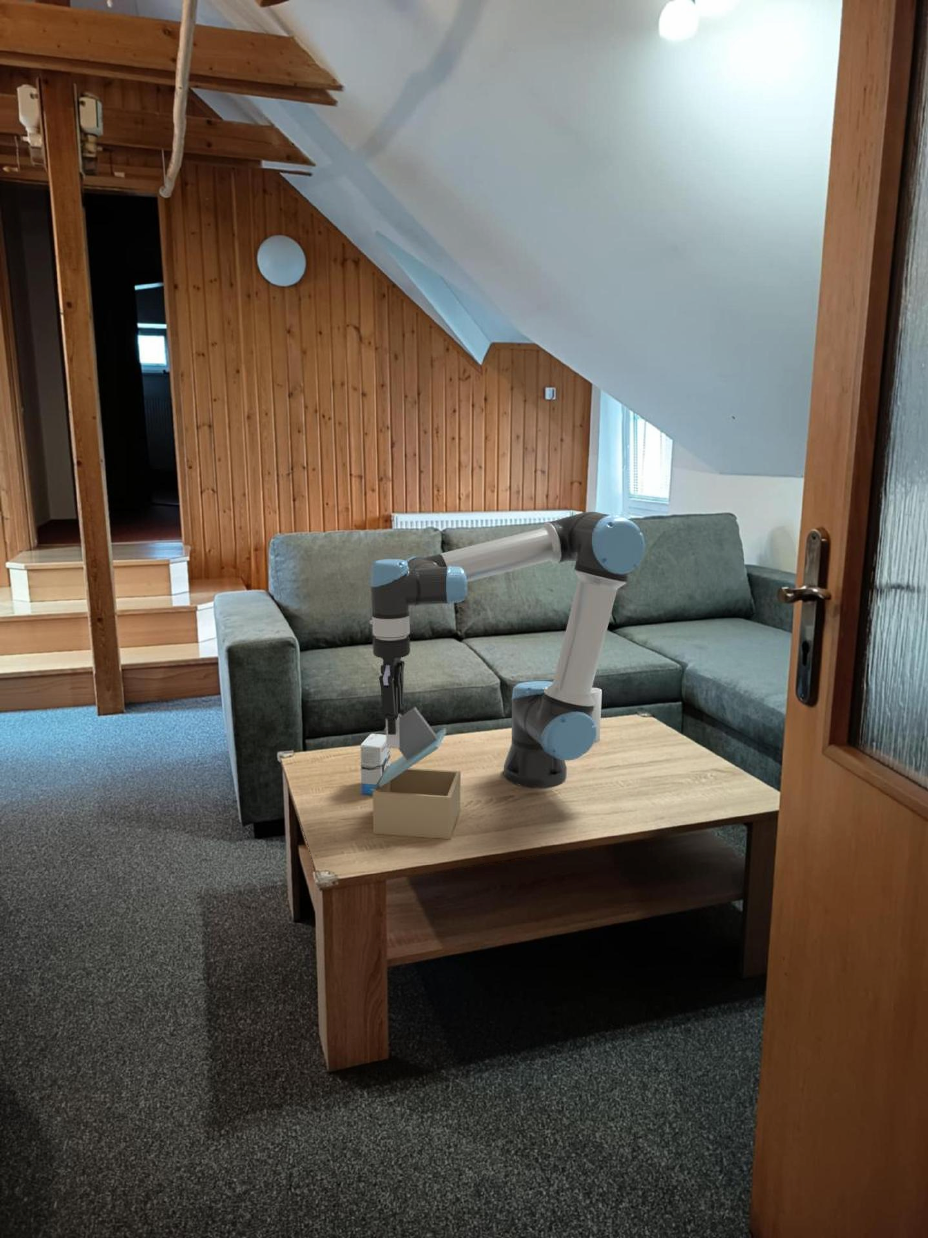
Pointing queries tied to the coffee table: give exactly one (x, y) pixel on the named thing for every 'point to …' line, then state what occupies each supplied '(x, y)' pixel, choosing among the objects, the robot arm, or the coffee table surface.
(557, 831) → the coffee table surface
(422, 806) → the carton
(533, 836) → the coffee table surface
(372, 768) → the ink box
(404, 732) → the lid flap
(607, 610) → the robot arm
